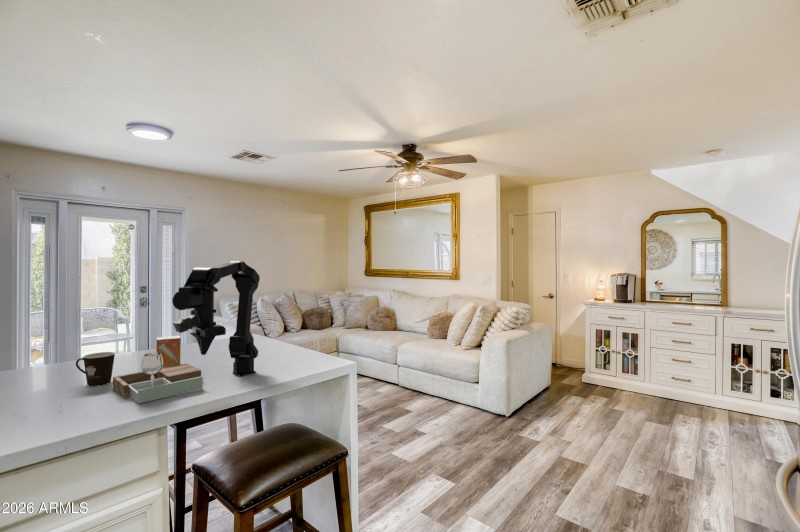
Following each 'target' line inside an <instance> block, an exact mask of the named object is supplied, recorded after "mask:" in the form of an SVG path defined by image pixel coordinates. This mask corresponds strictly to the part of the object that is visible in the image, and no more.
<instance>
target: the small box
mask: <svg viewBox="0 0 800 532" xmlns="http://www.w3.org/2000/svg"><path fill="white" fill-rule="evenodd" d="M181 339H182V338H181V335H180V334H179V335H168V336H166V335H165V336H159V337H158V336H157V337H156V347H155V348H156V349H155V353H161V355H162V358H163V367H162V368H164V367H170V366H175V365H181V346H182V345H181V342H182V341H181Z"/></svg>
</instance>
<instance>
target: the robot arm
mask: <svg viewBox="0 0 800 532" xmlns="http://www.w3.org/2000/svg"><path fill="white" fill-rule="evenodd" d="M229 276H231V278H232V279H233V281H235V289H236V290H237V291H238V294H239V295H238V305H237V317H236V324H235V325H236V328H235V332H234V333H233V334H232V335H230V337H229V343H228V346H227V347H228V351H229V356H230V358H231V359H234V362H233V366H232V367H233V368H232V369H233V371H232V374H234V375H235V376H238V377H244V376H248V374H249V375H252V373H253V374H256V373H257V371H256V370H255V359H256V358H257V357H259V350H258V348H257V347H256V346H255V344H254V336H253V335H252V332H251V322H252V321H251V320H252V312H253V310H252V309H253V298H254V293H255V292H256V291H257V290H258V287H259V284H260V283H259V282H260V274H258V272H257V271H256V269H255V268H252V267H251V266H249V265H248V264H247V263H246V262H245V261H243V260H231V261H229V262H225V263H222V264H219V265H215V266H212V267H194V268H193V269H191V272H190V274H189V275H188V278H187V280H186V281H185V284H183V287H182V286H181V287H178V291H177V292H176V293H174V295H173V297H172V305H173V307H174V308H175V309H176V310H179V311H185V310H191V311H190V314H189V315H187V316H184V317H183V316H182V317H181V318H178V319H176V320H174V321H173V322H172V324H173V327H174V330H175V331H176V333H177V332H178V333H180V334H182V333H185V332H188V331H189V330H192V332H189V334H190V335H191V336H193V337H194V338H195V339H196V341H197V345H198V348H199V351H200V354H201V355H202V356H205V355H207V354H208V351H209V349H210V347H211V345H212V343H213V341H215V340H214V339H215V337H217V336H225V335H226V333H227V332H226V331H227V330H226V327H225V326H224V325H220V324H217V321H215V320H214V319H215V316H214V315H215V313H217V309H216V308H215V293H216V292H217V293H218V291H219V289H218V288H217V287H216V286H215V285H216V284H218V283H219V282H220V281H221V279H222V278H225V277H229Z"/></svg>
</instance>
